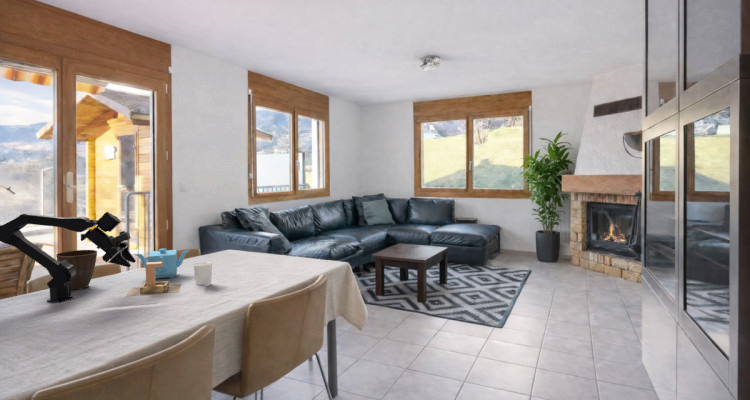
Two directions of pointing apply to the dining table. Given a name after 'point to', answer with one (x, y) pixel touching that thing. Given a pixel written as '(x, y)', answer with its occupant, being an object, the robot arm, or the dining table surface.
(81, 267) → the plant pot
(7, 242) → the robot arm
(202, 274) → the white cup
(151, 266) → the c link
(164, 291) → the brown tray
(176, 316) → the dining table surface
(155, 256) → the teakettle
